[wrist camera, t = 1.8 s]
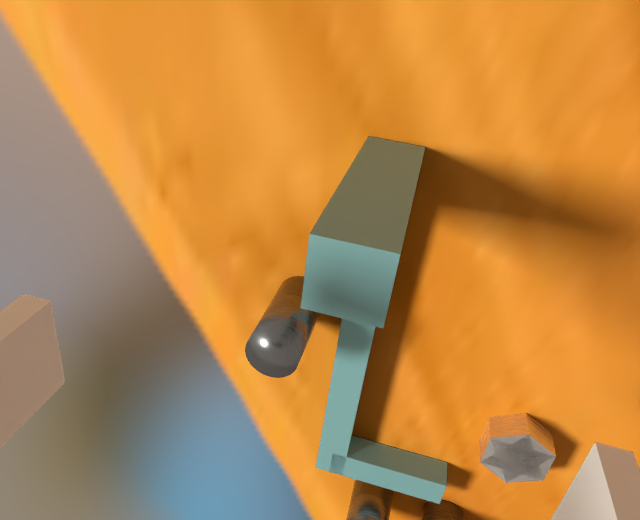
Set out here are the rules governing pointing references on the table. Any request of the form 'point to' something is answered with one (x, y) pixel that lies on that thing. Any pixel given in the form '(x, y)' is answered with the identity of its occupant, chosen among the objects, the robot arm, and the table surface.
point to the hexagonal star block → (517, 448)
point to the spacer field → (282, 360)
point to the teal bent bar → (365, 308)
